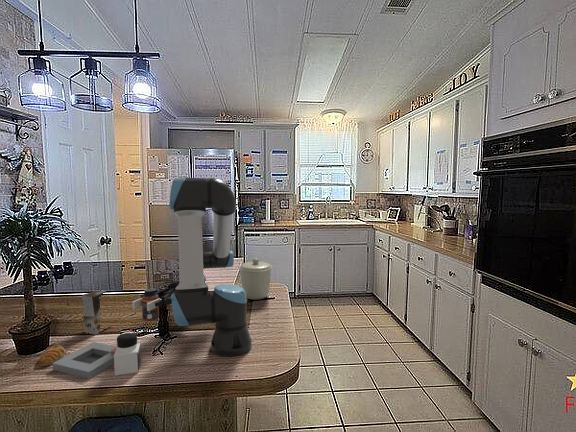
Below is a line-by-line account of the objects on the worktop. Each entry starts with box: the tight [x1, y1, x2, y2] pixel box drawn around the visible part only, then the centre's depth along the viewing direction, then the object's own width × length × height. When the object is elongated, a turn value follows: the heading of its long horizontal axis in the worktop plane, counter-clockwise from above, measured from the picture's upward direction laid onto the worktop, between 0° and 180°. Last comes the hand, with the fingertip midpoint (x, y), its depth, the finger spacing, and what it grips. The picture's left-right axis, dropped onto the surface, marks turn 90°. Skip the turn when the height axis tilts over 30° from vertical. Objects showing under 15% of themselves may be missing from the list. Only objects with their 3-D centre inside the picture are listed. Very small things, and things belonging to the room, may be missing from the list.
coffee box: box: [81, 290, 106, 335], centre depth 146 cm, size 9×6×16 cm
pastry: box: [38, 344, 67, 367], centre depth 122 cm, size 9×7×4 cm
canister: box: [238, 257, 273, 300], centre depth 187 cm, size 18×18×21 cm
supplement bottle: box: [141, 287, 160, 322], centre depth 132 cm, size 6×6×11 cm
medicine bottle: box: [113, 331, 142, 377], centre depth 116 cm, size 7×7×12 cm
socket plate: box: [52, 341, 117, 380], centre depth 120 cm, size 16×16×3 cm
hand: (140, 306), depth 127 cm, fingers closed on supplement bottle, 6 cm apart
